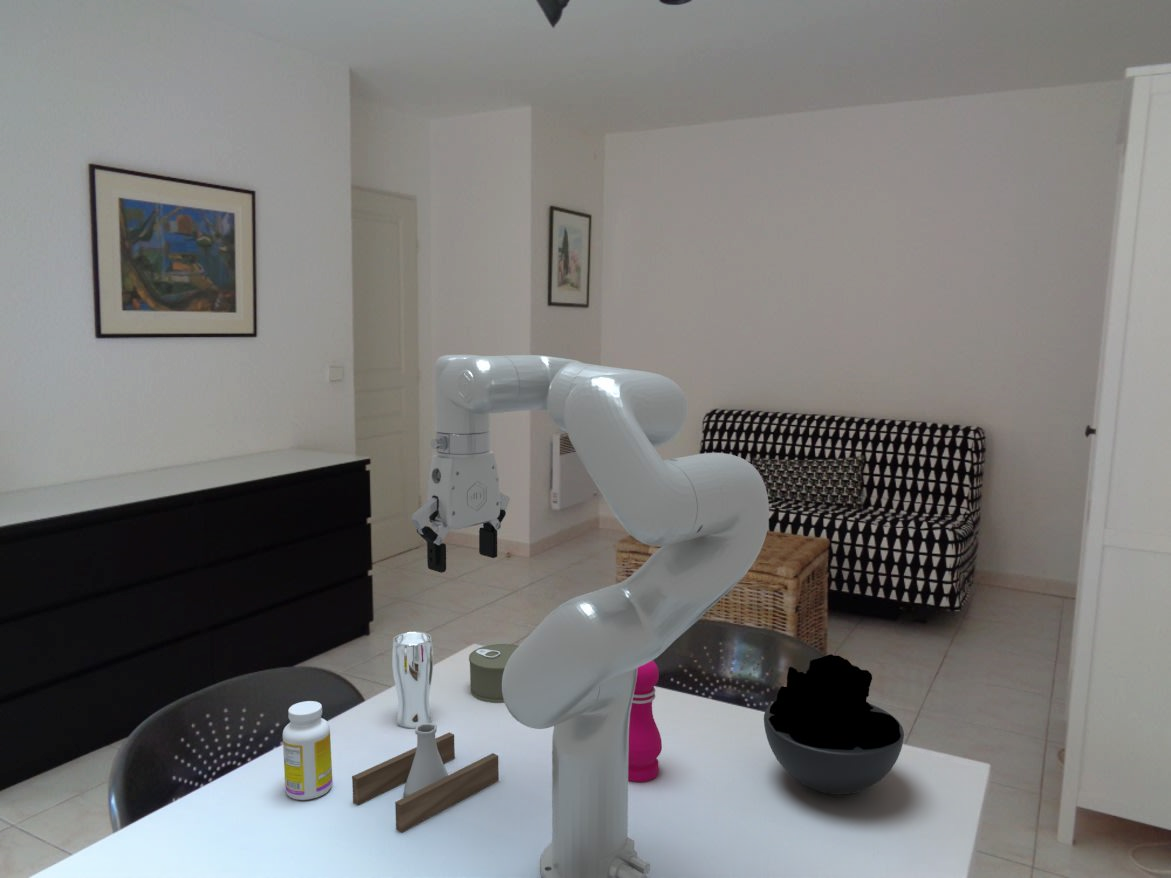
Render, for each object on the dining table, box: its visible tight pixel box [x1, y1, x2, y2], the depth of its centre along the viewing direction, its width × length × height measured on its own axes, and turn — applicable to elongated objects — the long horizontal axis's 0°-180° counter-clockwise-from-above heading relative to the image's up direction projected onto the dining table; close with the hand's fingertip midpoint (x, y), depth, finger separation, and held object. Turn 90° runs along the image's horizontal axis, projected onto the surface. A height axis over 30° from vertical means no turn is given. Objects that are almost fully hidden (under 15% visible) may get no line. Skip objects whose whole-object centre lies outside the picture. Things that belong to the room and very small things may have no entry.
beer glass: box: [391, 631, 434, 729], centre depth 148 cm, size 7×7×15 cm
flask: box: [402, 722, 449, 798], centre depth 125 cm, size 7×7×10 cm
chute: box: [351, 732, 500, 833], centre depth 126 cm, size 11×18×4 cm, turn 139°
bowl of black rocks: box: [763, 653, 905, 795], centre depth 127 cm, size 20×20×19 cm
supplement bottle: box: [282, 700, 333, 801], centre depth 126 cm, size 7×7×13 cm
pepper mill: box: [628, 660, 663, 783], centre depth 130 cm, size 7×7×20 cm
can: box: [468, 643, 519, 704], centre depth 161 cm, size 12×12×7 cm
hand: (463, 563), depth 121 cm, fingers open, 9 cm apart
